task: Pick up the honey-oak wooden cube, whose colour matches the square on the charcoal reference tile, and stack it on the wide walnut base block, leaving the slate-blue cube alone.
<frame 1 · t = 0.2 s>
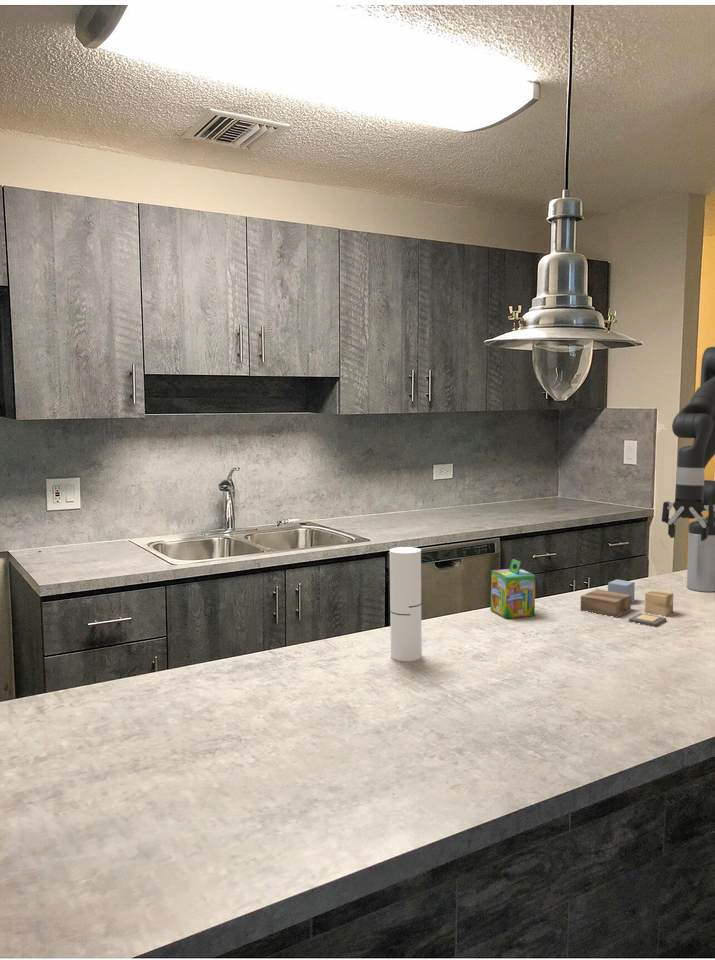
hand: (687, 538, 221), 18 cm above the counter, tool pointing down, fingers open, 8 cm apart
reference tile: (647, 621, 201), on the counter
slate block: (620, 601, 221), on the counter
oak block: (658, 612, 209), on the counter
base block: (605, 611, 212), on the counter
cylindrical container: (406, 656, 177), on the counter
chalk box: (512, 614, 210), on the counter
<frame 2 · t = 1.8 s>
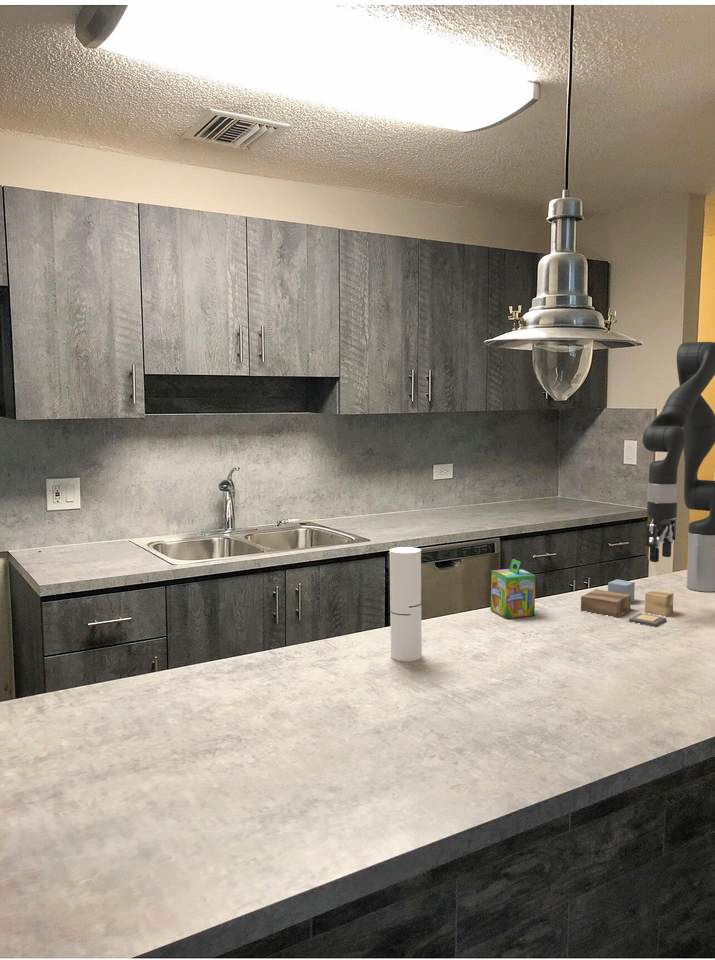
hand: (660, 559, 207), 15 cm above the counter, tool pointing down, fingers open, 8 cm apart
nothing on the counter moved.
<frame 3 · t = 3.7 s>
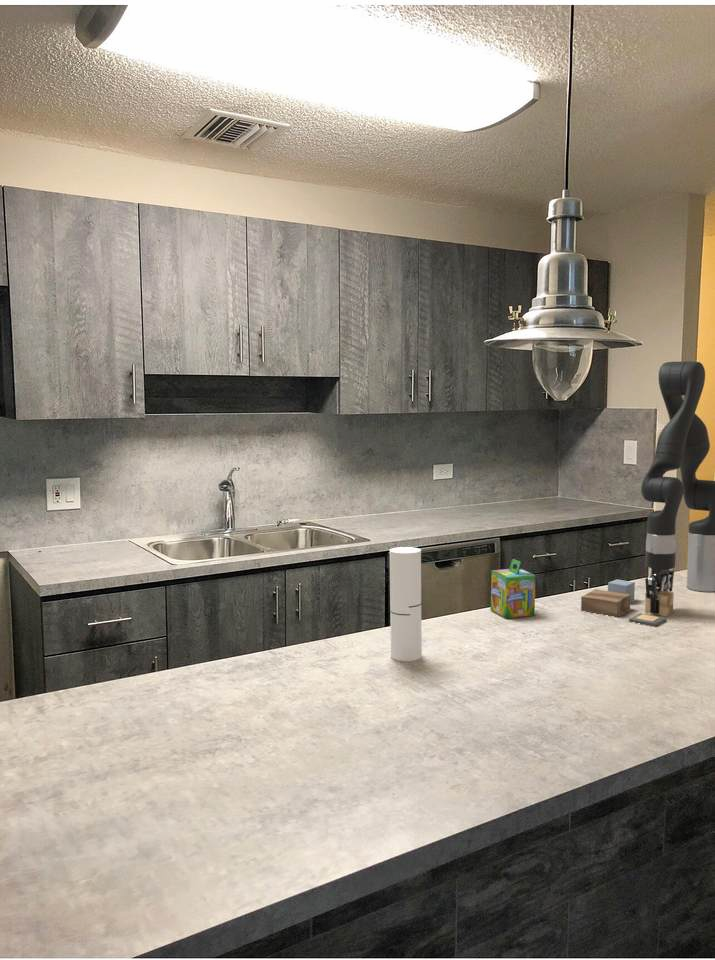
hand: (659, 610, 209), 1 cm above the counter, tool pointing down, fingers closed on oak block, 5 cm apart
oak block: (659, 612, 209), on the counter, touching gripper
everything else where it was.
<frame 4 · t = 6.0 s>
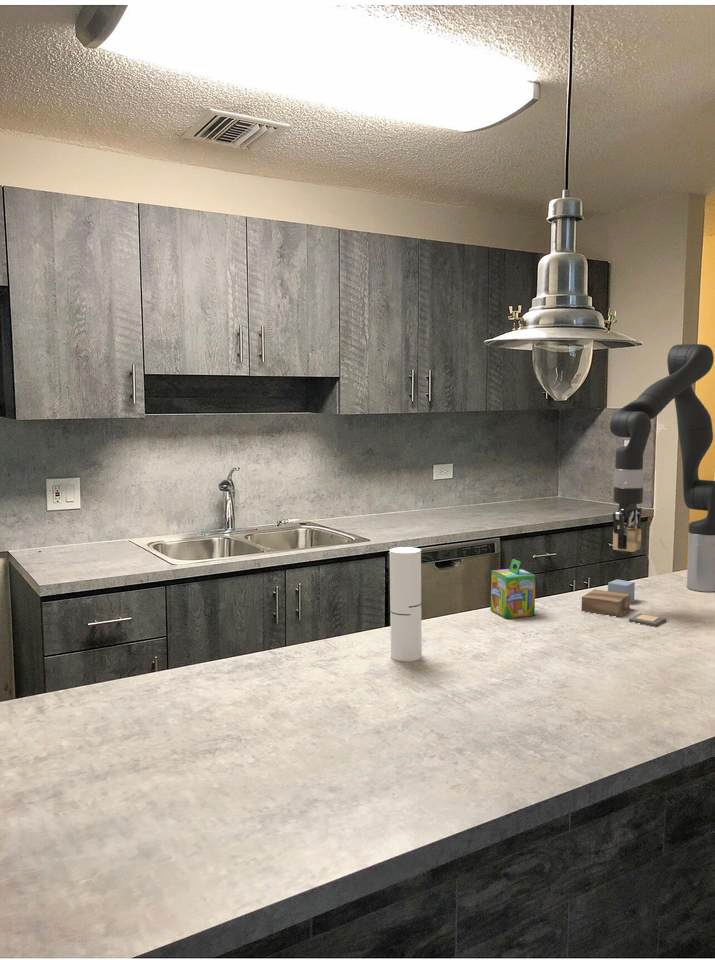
hand: (626, 546, 208), 18 cm above the counter, tool pointing down, fingers closed on oak block, 5 cm apart
oak block: (626, 549, 208), point 17 cm above the counter, touching gripper
everything else where it was.
when the fingers open (6 cm above the counter, at t = 8.6 s): oak block drops 2 cm, resting on base block.
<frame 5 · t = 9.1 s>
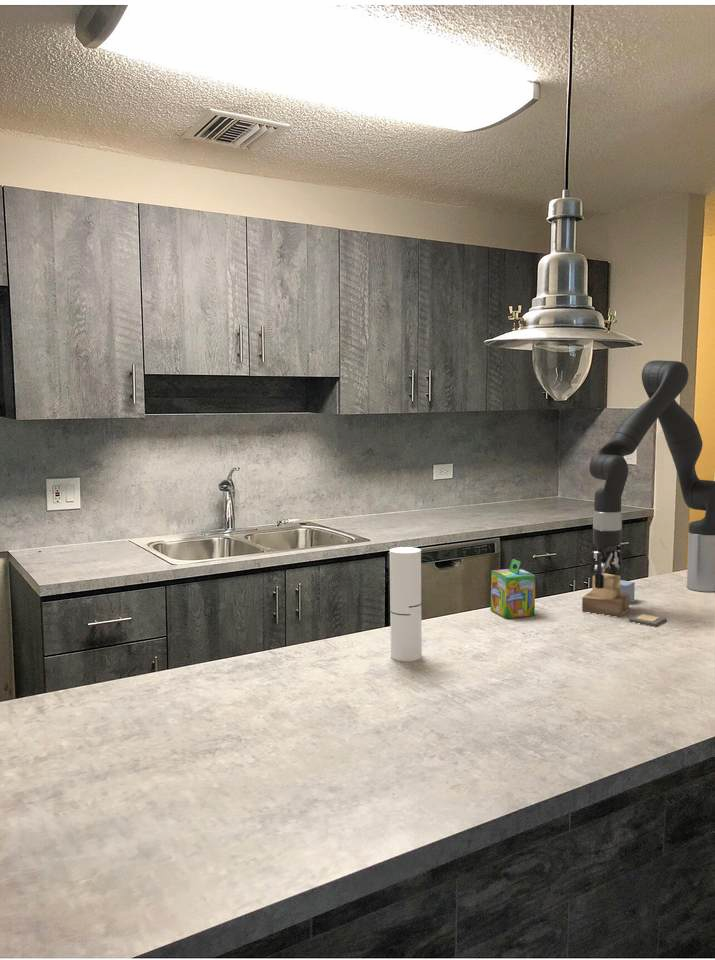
hand: (606, 585, 211), 7 cm above the counter, tool pointing down, fingers open, 8 cm apart
oak block: (606, 595, 211), point 4 cm above the counter, touching base block
base block: (605, 611, 212), on the counter, touching oak block
everything else where it was.
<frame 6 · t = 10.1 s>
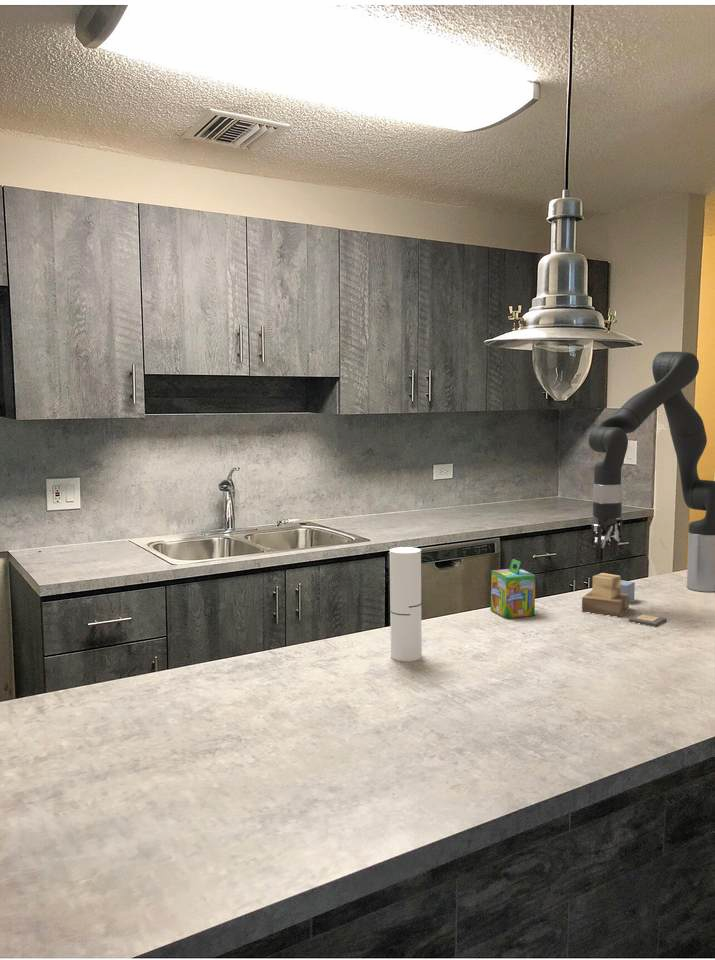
hand: (606, 558, 210), 15 cm above the counter, tool pointing down, fingers open, 8 cm apart
nothing on the counter moved.
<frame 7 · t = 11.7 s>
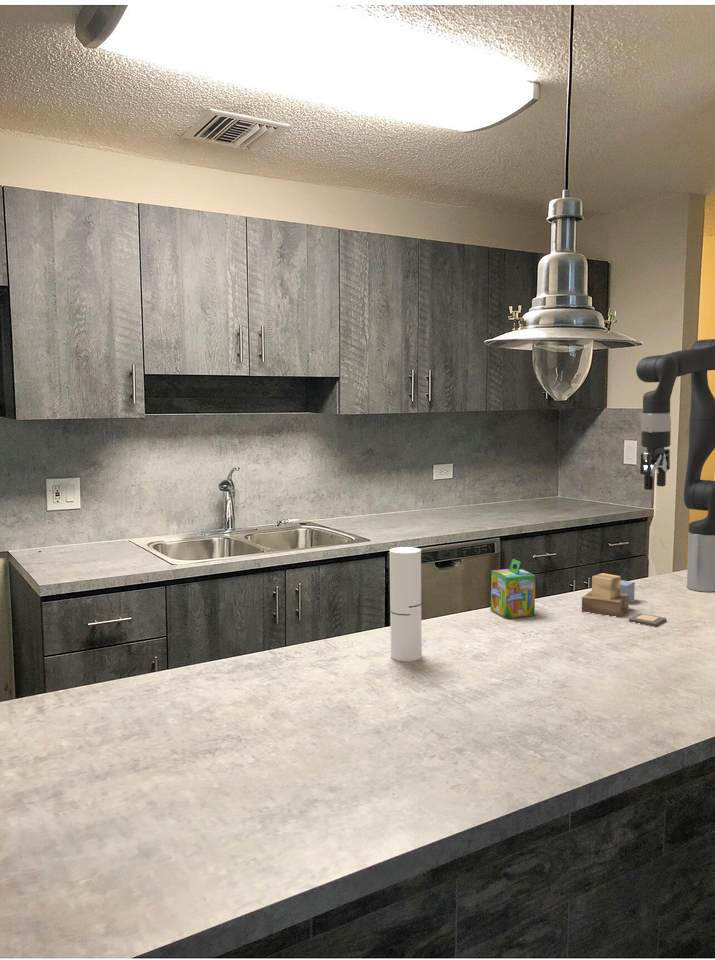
hand: (654, 487, 212), 33 cm above the counter, tool pointing down, fingers open, 8 cm apart
nothing on the counter moved.
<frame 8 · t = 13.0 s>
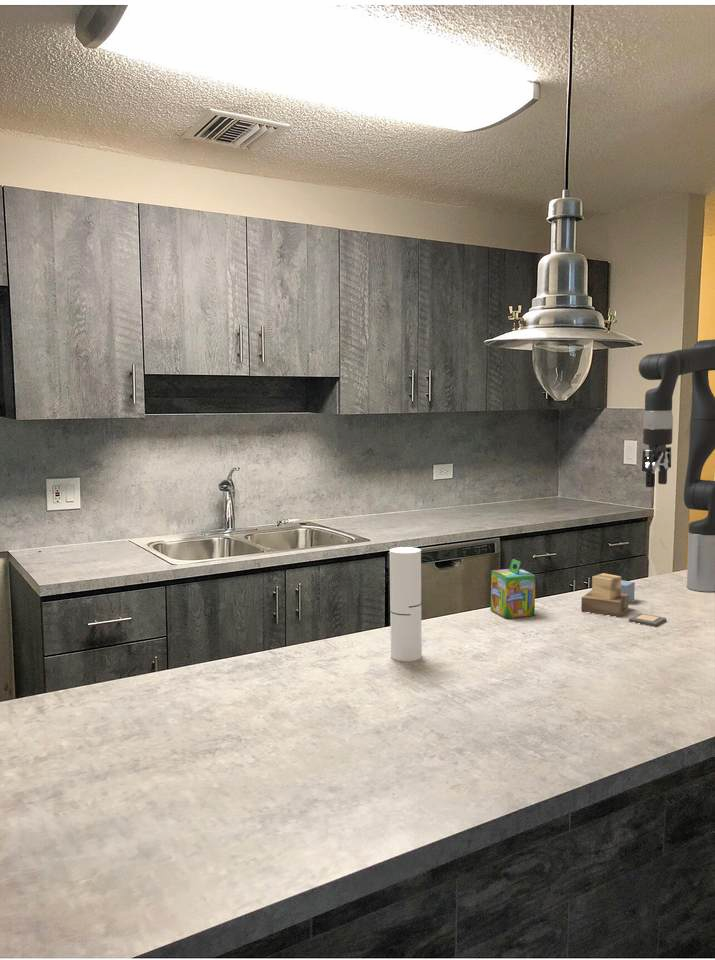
hand: (656, 485, 212), 34 cm above the counter, tool pointing down, fingers open, 8 cm apart
nothing on the counter moved.
at the end: oak block inside the target area on the base block (0.3 cm from its centre), point 4.5 cm above the base block's base; oak block tilted 0°; the gripper is holding nothing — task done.
